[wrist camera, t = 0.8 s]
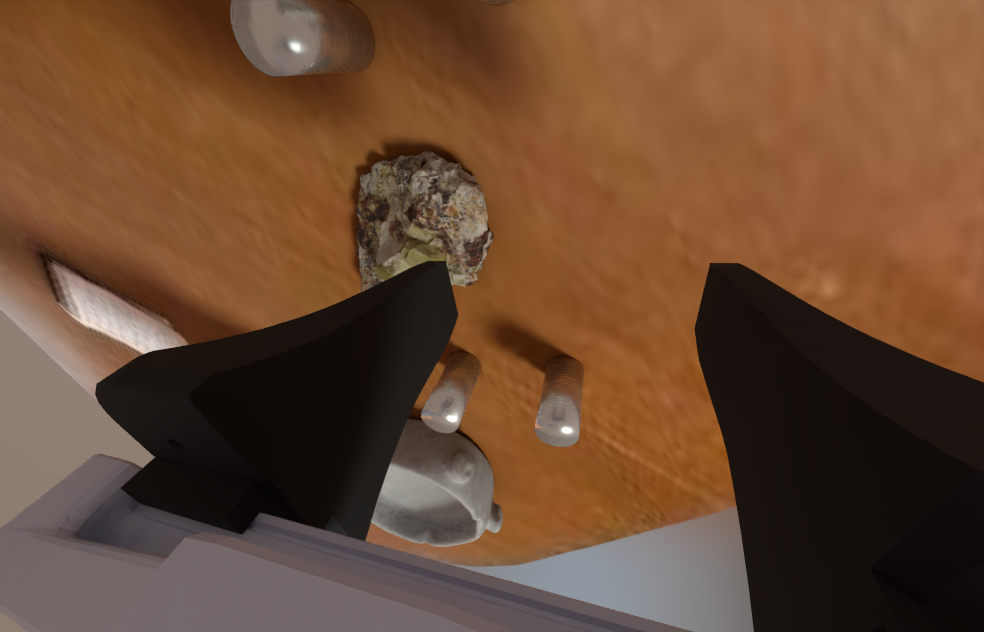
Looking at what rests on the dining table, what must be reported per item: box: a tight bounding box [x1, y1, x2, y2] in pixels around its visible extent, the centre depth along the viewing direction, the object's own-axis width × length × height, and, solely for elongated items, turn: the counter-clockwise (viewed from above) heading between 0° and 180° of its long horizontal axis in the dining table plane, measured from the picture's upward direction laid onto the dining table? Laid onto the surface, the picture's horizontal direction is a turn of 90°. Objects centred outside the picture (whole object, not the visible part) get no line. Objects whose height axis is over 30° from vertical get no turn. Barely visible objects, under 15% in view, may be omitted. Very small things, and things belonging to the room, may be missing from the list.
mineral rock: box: [355, 151, 494, 292], centre depth 20 cm, size 11×4×8 cm
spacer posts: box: [230, 0, 584, 447], centre depth 18 cm, size 9×22×5 cm, turn 14°
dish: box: [371, 419, 503, 547], centre depth 33 cm, size 14×14×5 cm
